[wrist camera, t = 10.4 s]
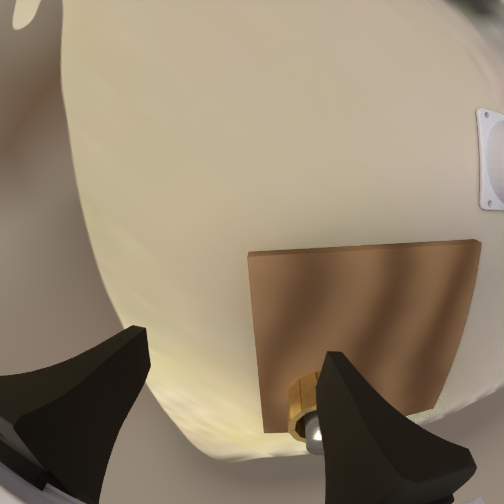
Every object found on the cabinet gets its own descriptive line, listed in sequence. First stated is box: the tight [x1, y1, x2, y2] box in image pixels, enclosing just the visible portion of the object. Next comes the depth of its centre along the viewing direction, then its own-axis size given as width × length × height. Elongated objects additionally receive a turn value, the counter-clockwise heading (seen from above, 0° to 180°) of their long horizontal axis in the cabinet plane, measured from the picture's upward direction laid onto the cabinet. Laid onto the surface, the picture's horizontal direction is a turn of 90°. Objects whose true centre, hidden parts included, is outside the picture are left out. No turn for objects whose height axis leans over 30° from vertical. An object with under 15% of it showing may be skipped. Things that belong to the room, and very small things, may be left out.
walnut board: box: [247, 239, 481, 433], centre depth 20 cm, size 18×18×1 cm
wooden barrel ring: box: [287, 372, 320, 443], centre depth 20 cm, size 5×5×4 cm
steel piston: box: [304, 410, 324, 455], centre depth 19 cm, size 3×3×6 cm
